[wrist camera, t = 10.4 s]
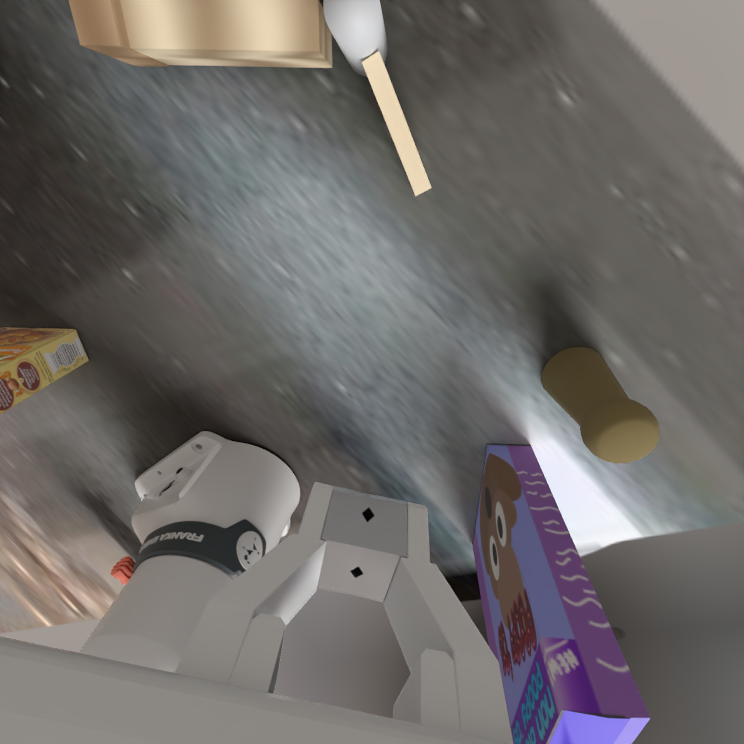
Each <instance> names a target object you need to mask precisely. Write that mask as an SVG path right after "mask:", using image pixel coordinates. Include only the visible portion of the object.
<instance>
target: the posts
mask: <svg viewBox="0 0 744 744" xmlns="http://www.w3.org/2000/svg"><path fill="white" fill-rule="evenodd" d="M323 8H324V16H325V20H326V23H327V25H328V27H329V29H330V31H331V33H332V34H333V36H334V38H335V40H336V41H337V43H338V45H339V47H340V48H341V50H342V52H343V54H344V55H345V57H346V59H347V61H348V62H349V64H350V66H351V68H352V69H353V70H354V71H355V72H356V73H358V74H359V75H362V76H367V77H368V79H369V82H370V84H371V87H372V89H373V92H374V94H375V97H376V99H377V102H378V104H379V106H380V109H381V111H382V114H383V116H384V119H385V121H386V124H387V126H388V129H389V131H390V134H391V136H392V139H393V141H394V144H395V146H396V149H397V151H398V154H399V156H400V159H401V161H402V164H403V166H404V169H405V171H406V174H407V176H408V179H409V181H410V183H411V186H412V188H413V191H414V193H415V196H417V195H419V194H421V193H423V192H425V191H427V190H428V189H430V188H431V185H430V183H429V180H428V177H427V175H426V172H425V170H424V167H423V164H422V162H421V159H420V157H419V154H418V151H417V149H416V146H415V143H414V141H413V138H412V136H411V133H410V130H409V128H408V125H407V123H406V120H405V117H404V115H403V112H402V109H401V107H400V104H399V102H398V99H397V96H396V94H395V91H394V89H393V86H392V83H391V81H390V78H389V75H388V73H387V70H386V68H385V65H384V64H385V62H386V59H387V54H388V44H387V38H386V33H385V27H384V22H383V16H382V11H381V5H380V0H324V2H323Z"/></svg>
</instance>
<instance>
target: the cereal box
mask: <svg viewBox="0 0 744 744" xmlns="http://www.w3.org/2000/svg"><path fill="white" fill-rule="evenodd" d="M473 551H474V557H475V563H476V569H477V575H478V581H479V587H480V593H481V599H482V605H483V611H484V617H485V623H486V629H487V635H488V641H489V647H490V649H491V651H492V652H493V654H494V655H495V657H496V659H497V660H498V662H499V666H500V672H501V678H502V683H503V689H504V694H505V700H506V706H507V711H508V717H509V722H510V728H511V734H512V739H513V744H632V742H633V741H634V740H635V738H636V737H637V736H638V734H639V733H640V732H641V730H642V729H643V727H644V726H645V725H646V723H647V722H648V721H649V719H650V716H649V714H648V712H647V709H646V707H645V705H644V702H643V700H642V698H641V695H640V693H639V691H638V689H637V686H636V684H635V682H634V680H633V677H632V675H631V673H630V670H629V668H628V666H627V663H626V661H625V659H624V657H623V654H622V652H621V650H620V648H619V645H618V643H617V641H616V638H615V636H614V634H613V632H612V629H611V627H610V625H609V622H608V620H607V618H606V616H605V614H604V611H603V609H602V607H601V604H600V602H599V600H598V597H597V595H596V593H595V591H594V588H593V586H592V584H591V582H590V579H589V577H588V575H587V572H586V570H585V568H584V566H583V563H582V561H581V559H580V556H579V554H578V552H577V550H576V547H575V545H574V543H573V540H572V538H571V536H570V534H569V531H568V529H567V527H566V525H565V522H564V520H563V518H562V515H561V513H560V511H559V509H558V506H557V504H556V502H555V499H554V497H553V495H552V493H551V490H550V488H549V486H548V484H547V481H546V479H545V477H544V474H543V472H542V470H541V468H540V465H539V463H538V461H537V458H536V456H535V454H534V452H533V449H532V447H531V445H517V444H487V447H486V454H485V461H484V468H483V475H482V482H481V489H480V496H479V503H478V510H477V517H476V524H475V531H474V538H473Z"/></svg>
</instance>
